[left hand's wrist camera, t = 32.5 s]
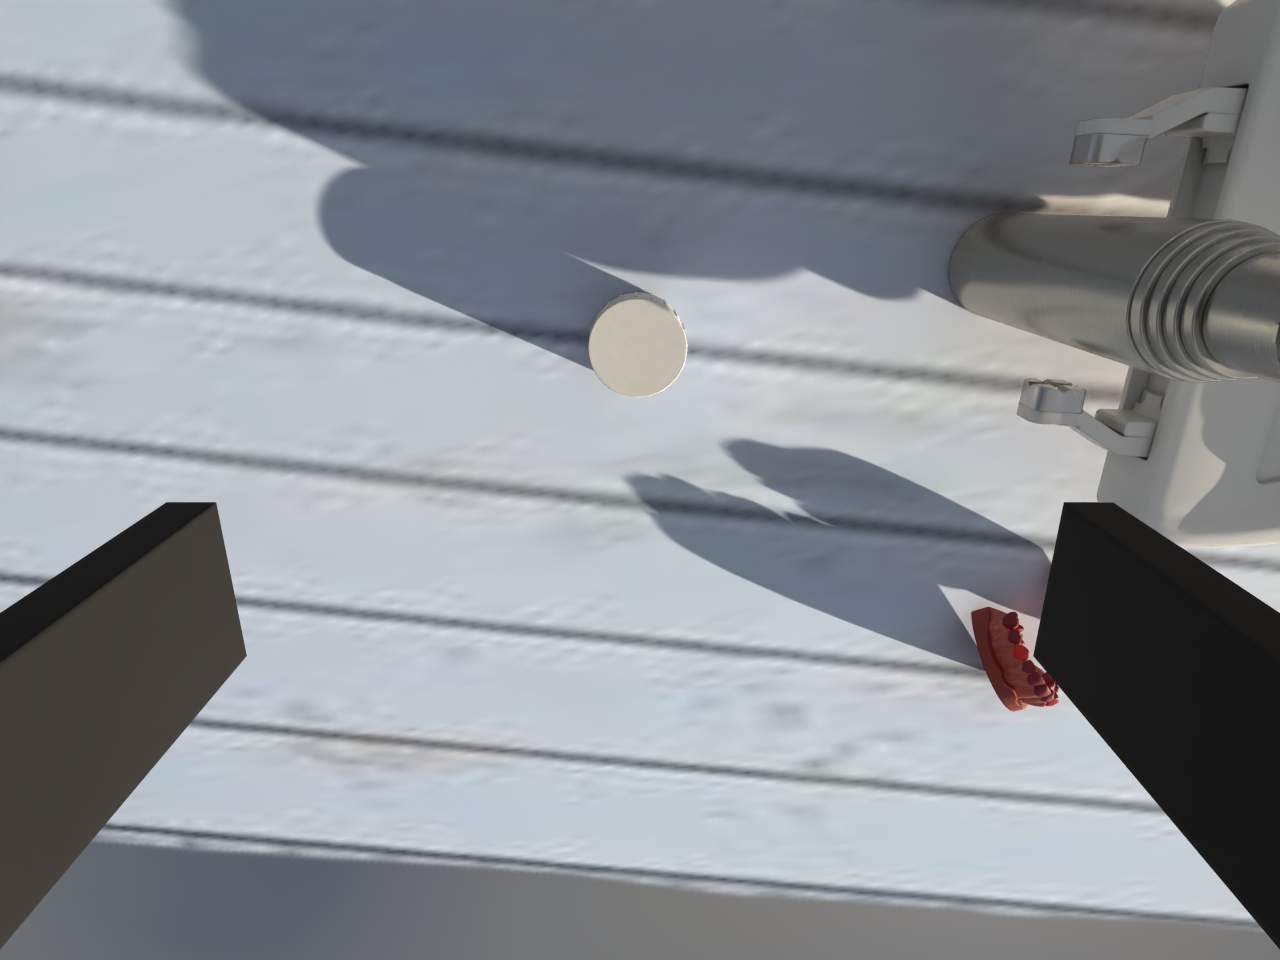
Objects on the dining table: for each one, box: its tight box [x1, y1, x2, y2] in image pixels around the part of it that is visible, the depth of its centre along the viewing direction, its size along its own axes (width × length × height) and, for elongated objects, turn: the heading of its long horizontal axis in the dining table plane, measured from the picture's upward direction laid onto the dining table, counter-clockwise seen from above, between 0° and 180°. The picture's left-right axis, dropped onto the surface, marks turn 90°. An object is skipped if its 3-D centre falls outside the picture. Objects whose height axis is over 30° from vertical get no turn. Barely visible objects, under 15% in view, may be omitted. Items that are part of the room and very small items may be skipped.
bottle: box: [949, 213, 1280, 383], centre depth 27 cm, size 5×5×19 cm
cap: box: [588, 291, 688, 397], centre depth 36 cm, size 4×4×3 cm
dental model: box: [971, 607, 1059, 711], centre depth 40 cm, size 6×4×8 cm
